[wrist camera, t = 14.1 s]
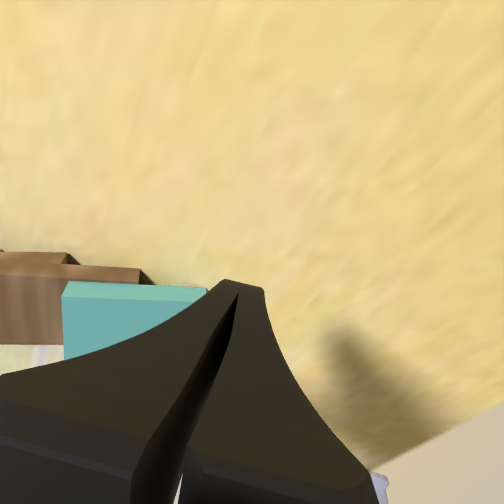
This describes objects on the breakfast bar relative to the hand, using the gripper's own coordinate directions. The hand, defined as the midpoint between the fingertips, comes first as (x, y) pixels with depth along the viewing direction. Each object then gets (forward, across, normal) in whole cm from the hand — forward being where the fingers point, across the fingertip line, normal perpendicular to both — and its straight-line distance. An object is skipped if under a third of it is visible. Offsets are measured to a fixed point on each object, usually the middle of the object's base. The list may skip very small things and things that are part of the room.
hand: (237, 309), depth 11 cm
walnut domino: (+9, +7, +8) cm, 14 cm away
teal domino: (+9, +3, +8) cm, 12 cm away
